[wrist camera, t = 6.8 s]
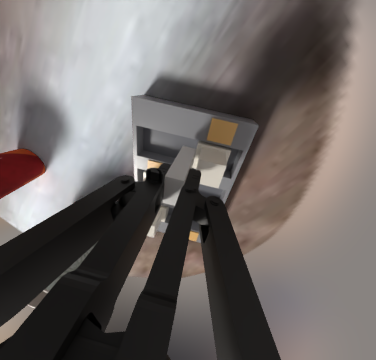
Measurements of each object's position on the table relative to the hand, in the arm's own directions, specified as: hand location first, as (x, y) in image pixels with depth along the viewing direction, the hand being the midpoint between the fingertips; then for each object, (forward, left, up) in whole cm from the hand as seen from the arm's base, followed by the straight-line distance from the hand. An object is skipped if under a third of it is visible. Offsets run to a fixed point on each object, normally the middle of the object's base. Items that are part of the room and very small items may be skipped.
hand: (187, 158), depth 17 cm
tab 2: (0, +3, -4) cm, 4 cm away
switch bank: (+6, 0, -5) cm, 8 cm away
